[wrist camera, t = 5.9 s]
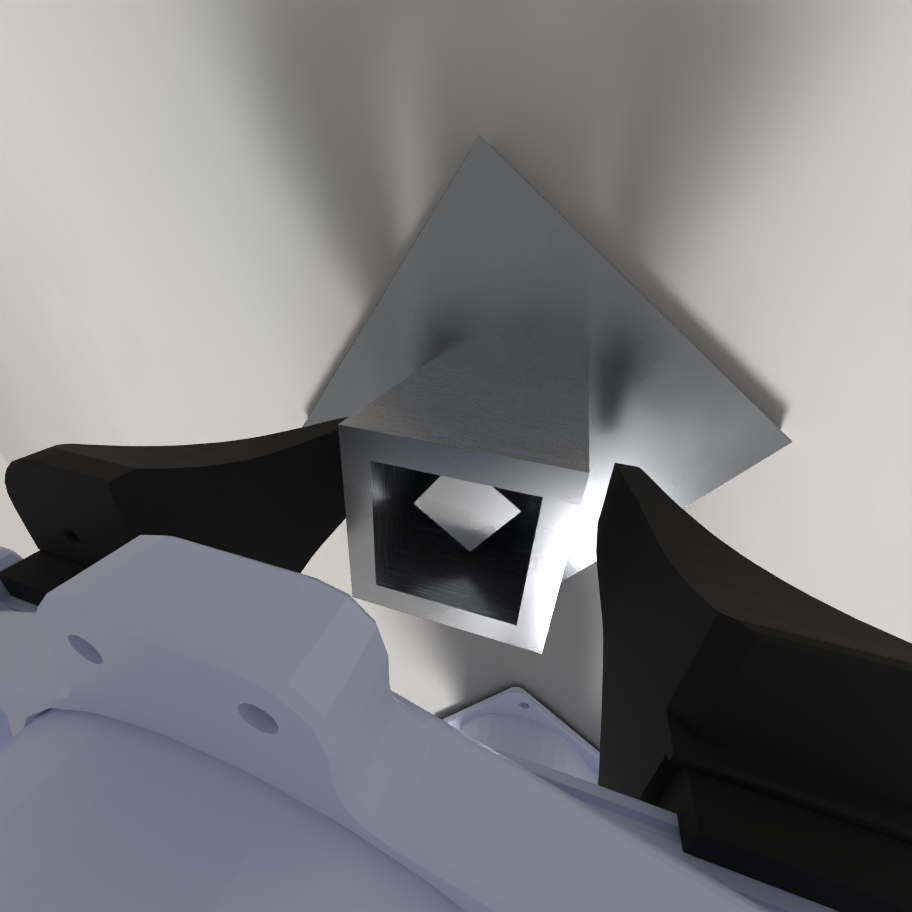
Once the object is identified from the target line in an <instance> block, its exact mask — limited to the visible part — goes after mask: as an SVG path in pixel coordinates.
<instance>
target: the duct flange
mask: <svg viewBox="0 0 912 912" xmlns="http://www.w3.org/2000/svg"><path fill="white" fill-rule="evenodd" d="M435 358H436V359H443V360H450V361H457V362H464V363H471V364H478V365H485V366H492V367H499V368H506V369H513V370H520V371H526V372H533V373H540V374H547V375H554V376H561V377H568V378H575V379H582V380H589V477H588V481H587V484H586V488H585V492H584V496H583V500H582V503H581V507H580V511H579V515H578V519H577V522H576V526H575V530H574V534H573V538H572V541H571V545H570V549H569V553H568V557H567V560H566V564H565V568H564V572H563V576H562V579H561V582H563V581H564V580H566V579H568V578H569V577H571V576H572V575H574V574H576V573H577V572H579V571H581V570H582V569H584V568H586V567H587V566H589V565H591V564H592V563H594V562H595V561H597V558H596V541H597V524H598V519H599V516H600V513H601V509H602V506H603V502H604V499H605V495H606V492H607V488H608V485H609V481H610V478H611V474H612V471H613V467H614V464H615V463H620V464H626V465H631V466H637V467H640V468H641V469H642V470H643V471H644V472H645V473H646V474H647V475H648V476H649V477H650V478H651V479H652V480H653V481H654V482H655V483H656V484H657V485H658V486H659V487H660V488H661V489H662V490H663V491H664V492H665V493H666V494H667V495H668V496H669V497H670V498H672V499H673V500H674V501H675V502H676V503H677V504H678V505H679V506H680V507H681V508H682V509H683V508H684V507H686V506H688V505H689V504H691V503H693V502H694V501H696V500H698V499H699V498H701V497H702V496H704V495H706V494H707V493H709V492H711V491H712V490H714V489H716V488H717V487H719V486H721V485H722V484H724V483H725V482H727V481H729V480H730V479H732V478H734V477H735V476H737V475H739V474H740V473H742V472H744V471H745V470H747V469H749V468H750V467H752V466H753V465H755V464H757V463H758V462H760V461H762V460H763V459H765V458H767V457H768V456H770V455H772V454H773V453H775V452H776V451H778V450H780V449H781V448H783V447H785V446H786V445H788V444H790V443H791V442H792V441H791V440H790V439H789V438H788V437H787V436H786V435H785V434H784V433H783V432H782V431H781V430H780V429H779V428H778V427H777V426H776V425H775V424H774V423H773V422H772V421H771V420H770V419H769V418H768V417H767V416H766V415H765V414H764V413H763V412H762V411H761V410H760V409H759V408H758V407H757V406H756V405H755V404H754V403H753V402H752V401H750V400H749V399H748V398H747V397H746V396H745V395H744V394H743V393H742V392H741V391H740V390H739V389H738V388H737V387H736V386H735V385H734V384H733V383H732V382H731V381H730V380H729V379H728V378H727V377H726V376H725V375H724V374H723V373H722V372H721V371H720V370H719V369H718V368H717V367H716V366H715V365H714V364H713V363H712V362H711V361H710V360H709V359H708V358H707V357H706V356H705V355H703V354H702V353H701V352H700V351H699V350H698V349H697V348H696V347H695V346H694V345H693V344H692V343H691V342H690V341H689V340H688V339H687V338H686V337H685V336H684V335H683V334H682V333H681V332H680V331H679V330H678V329H677V328H676V327H675V326H674V325H673V324H672V323H671V322H670V321H669V320H668V319H667V318H666V317H665V316H664V315H663V314H662V313H661V312H660V311H659V310H658V309H656V308H655V307H654V306H653V305H652V304H651V303H650V302H649V301H648V300H647V299H646V298H645V297H644V296H643V295H642V294H641V293H640V292H639V291H638V290H637V289H636V288H635V287H634V286H633V285H632V284H631V283H630V282H629V281H628V280H627V279H626V278H625V277H624V276H623V275H622V274H621V273H620V272H619V271H618V270H617V269H616V268H615V267H614V266H613V265H612V264H611V263H609V262H608V261H607V260H606V259H605V258H604V257H603V256H602V255H601V254H600V253H599V252H598V251H597V250H596V249H595V248H594V247H593V246H592V245H591V244H590V243H589V242H588V241H587V240H586V239H585V238H584V237H583V236H582V235H581V234H580V233H579V232H578V231H577V230H576V229H575V228H574V227H573V226H572V225H571V224H570V223H569V222H568V221H567V220H566V219H565V218H564V217H563V216H561V215H560V214H559V213H558V212H557V211H556V210H555V209H554V208H553V207H552V206H551V205H550V204H549V203H548V202H547V201H546V200H545V199H544V198H543V197H542V196H541V195H540V194H539V193H538V192H537V191H536V190H535V189H534V188H533V187H532V186H531V185H530V184H529V183H528V182H527V181H526V180H525V179H524V178H523V177H522V176H521V175H520V174H519V173H518V172H517V171H516V170H514V169H513V168H512V167H511V166H510V165H509V164H508V163H507V162H506V161H505V160H504V159H503V158H502V157H501V156H500V155H499V154H498V153H497V152H496V151H495V150H494V149H493V148H492V147H491V146H490V145H489V144H488V143H487V142H486V141H485V140H484V139H483V138H482V137H481V136H479V137H478V139H477V141H476V142H475V144H474V146H473V147H472V149H471V151H470V152H469V154H468V155H467V157H466V159H465V160H464V162H463V164H462V165H461V167H460V169H459V170H458V172H457V174H456V175H455V177H454V179H453V180H452V182H451V183H450V185H449V187H448V188H447V190H446V192H445V193H444V195H443V197H442V198H441V200H440V202H439V203H438V205H437V206H436V208H435V210H434V211H433V213H432V215H431V216H430V218H429V220H428V221H427V223H426V225H425V226H424V228H423V230H422V231H421V233H420V234H419V236H418V238H417V239H416V241H415V243H414V244H413V246H412V248H411V249H410V251H409V253H408V254H407V256H406V257H405V259H404V261H403V262H402V264H401V266H400V267H399V269H398V271H397V272H396V274H395V276H394V277H393V279H392V281H391V282H390V284H389V285H388V287H387V289H386V290H385V292H384V294H383V295H382V297H381V299H380V300H379V302H378V304H377V305H376V307H375V308H374V310H373V312H372V313H371V315H370V317H369V318H368V320H367V322H366V323H365V325H364V327H363V328H362V330H361V331H360V333H359V335H358V336H357V338H356V340H355V341H354V343H353V345H352V346H351V348H350V350H349V351H348V353H347V355H346V356H345V358H344V359H343V361H342V363H341V364H340V366H339V368H338V369H337V371H336V373H335V374H334V376H333V378H332V379H331V381H330V382H329V384H328V386H327V387H326V389H325V391H324V392H323V394H322V396H321V397H320V399H319V401H318V402H317V404H316V406H315V407H314V409H313V410H312V412H311V414H310V415H309V417H308V419H307V420H306V422H305V424H304V425H303V427H306V426H310V425H314V424H318V423H322V422H326V421H330V420H335V419H339V418H344V417H350V416H351V415H353V414H354V413H356V412H357V411H358V410H360V409H361V408H363V407H364V406H366V405H367V404H369V403H370V402H372V401H373V400H375V399H376V398H378V397H379V396H381V395H382V394H383V393H385V392H386V391H388V390H389V389H391V388H392V387H394V386H395V385H397V384H398V383H400V382H401V381H403V380H404V379H406V378H407V377H409V376H410V375H411V374H413V373H414V372H416V371H417V370H419V369H420V368H422V367H423V366H425V365H426V364H428V363H429V362H431V361H432V360H434V359H435ZM524 498H525V493H520V492H516V491H511V490H506V489H501V488H497V487H492V486H487V485H483V484H478V483H473V482H469V481H464V480H459V479H454V478H450V477H445V476H440V475H436V474H434V475H433V476H432V478H431V479H430V481H429V482H428V484H427V485H426V486H425V488H424V489H423V491H422V492H421V494H420V495H419V496H418V498H417V499H416V501H415V502H414V504H415V505H416V506H417V507H418V508H419V509H421V510H422V511H423V512H424V513H425V514H427V515H428V516H429V517H430V518H431V519H432V520H434V521H435V522H436V523H437V524H438V525H439V526H441V527H442V528H443V529H444V530H445V531H446V532H448V533H449V534H450V535H451V536H452V537H453V538H455V539H456V540H457V541H458V542H459V543H460V544H462V545H463V546H464V547H465V548H466V549H468V550H469V551H472V550H473V549H474V548H475V547H477V546H478V545H479V544H480V543H482V542H483V541H484V540H486V539H487V538H488V537H489V536H491V535H492V534H493V533H494V532H496V531H497V530H498V529H499V528H501V527H502V526H503V525H504V524H506V523H507V522H508V521H510V520H511V519H512V518H513V517H515V516H516V515H517V514H518V513H520V512H521V510H522V506H523V502H524Z"/></svg>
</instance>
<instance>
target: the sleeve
mask: <svg viewBox="0 0 912 912" xmlns="http://www.w3.org/2000/svg"><path fill="white" fill-rule="evenodd" d="M338 428H339V440H340V452H341V463H342V475H343V487H344V499H345V511H346V523H347V535H348V547H349V559H350V570H351V582H352V594H353V597H355V598H358V599H361V600H365V601H368V602H371V603H375V604H378V605H381V606H384V607H388V608H391V609H394V610H398V611H401V612H404V613H408V614H411V615H414V616H418V617H421V618H424V619H428V620H431V621H434V622H437V623H441V624H444V625H447V626H451V627H454V628H457V629H461V630H464V631H467V632H471V633H474V634H477V635H481V636H484V637H487V638H490V639H494V640H497V641H500V642H504V643H507V644H510V645H514V646H517V647H520V648H524V649H527V650H530V651H534V652H537V653H540V654H542V652H543V648H544V644H545V640H546V637H547V633H548V629H549V625H550V621H551V617H552V614H553V610H554V606H555V602H556V598H557V595H558V591H559V587H560V583H561V579H562V576H563V572H564V568H565V564H566V560H567V557H568V553H569V549H570V545H571V541H572V538H573V534H574V530H575V526H576V522H577V519H578V515H579V511H580V507H581V503H582V500H583V496H584V492H585V488H586V484H587V481H588V477H589V380H582V379H575V378H568V377H561V376H554V375H547V374H540V373H533V372H526V371H520V370H513V369H506V368H499V367H492V366H485V365H478V364H471V363H464V362H457V361H450V360H443V359H436V358H435V359H434V360H432V361H431V362H429V363H428V364H426V365H425V366H423V367H422V368H420V369H419V370H417V371H416V372H414V373H413V374H411V375H410V376H409V377H407V378H406V379H404V380H403V381H401V382H400V383H398V384H397V385H395V386H394V387H392V388H391V389H389V390H388V391H386V392H385V393H383V394H382V395H381V396H379V397H378V398H376V399H375V400H373V401H372V402H370V403H369V404H367V405H366V406H364V407H363V408H361V409H360V410H358V411H357V412H356V413H354V414H353V415H351V416H350V417H348V418H347V419H345V420H344V421H342V422H341V423H339V424H338ZM434 474H436V475H440V476H445V477H450V478H454V479H459V480H464V481H469V482H473V483H478V484H483V485H487V486H492V487H497V488H501V489H506V490H511V491H516V492H520V493H525V498H524V502H523V506H522V510H521V512H520V513H518V514H517V515H516V516H515V517H513V518H512V519H511V520H510V521H508V522H507V523H506V524H504V525H503V526H502V527H501V528H499V529H498V530H497V531H496V532H494V533H493V534H492V535H491V536H489V537H488V538H487V539H486V540H484V541H483V542H482V543H480V544H479V545H478V546H477V547H475V548H474V549H473V550H472V551H469V550H468V549H466V548H465V547H464V546H463V545H462V544H460V543H459V542H458V541H457V540H456V539H455V538H453V537H452V536H451V535H450V534H449V533H448V532H446V531H445V530H444V529H443V528H442V527H441V526H439V525H438V524H437V523H436V522H435V521H434V520H432V519H431V518H430V517H429V516H428V515H427V514H425V513H424V512H423V511H422V510H421V509H419V508H418V507H417V506H416V505H415V504H414V502H415V501H416V499H417V498H418V496H419V495H420V494H421V492H422V491H423V489H424V488H425V486H426V485H427V484H428V482H429V481H430V479H431V478H432V476H433V475H434Z"/></svg>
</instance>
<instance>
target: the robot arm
mask: <svg viewBox="0 0 912 912" xmlns="http://www.w3.org/2000/svg"><path fill="white" fill-rule="evenodd" d="M347 418H348V417H344V418H339V419H335V420H330V421H326V422H322V423H318V424H314V425H310V426H306V427H302V428H298V429H293V430H289V431H284V432H280V433H275V434H271V435H266V436H261V437H255V438H249V439H242V440H235V441H228V442H218V443H206V444H194V445H180V446H108V445H84V444H62V445H56V446H53V447H50V448H47V449H44V450H42V451H39V452H36V453H34V454H31V455H28V456H26V457H23V458H20V459H17V460H15V461H12V462H11V463H10V465H9V466H8V468H7V470H6V474H5V484H6V488H7V492H8V494H9V497H10V499H11V501H12V503H13V505H14V507H15V509H16V510H17V512H18V514H19V516H20V517H21V519H22V521H23V523H24V524H25V526H26V528H27V530H28V531H29V533H30V535H31V537H32V538H33V540H34V542H35V544H36V545H37V547H38V549H40V551H38V552H36V553H34V554H32V555H30V556H29V557H27V558H25V559H22V558H21V557H20V556H19V555H18V554H17V553H15V552H14V551H12V550H10V549H7V548H4V547H1V546H0V912H912V644H911V643H909V642H907V641H904V640H902V639H900V638H898V637H896V636H893V635H891V634H889V633H887V632H884V631H882V630H880V629H878V628H875V627H873V626H871V625H869V624H866V623H864V622H862V621H860V620H857V619H855V618H853V617H851V616H849V615H847V614H845V613H843V612H841V611H839V610H837V609H835V608H833V607H831V606H829V605H827V604H825V603H824V602H822V601H820V600H818V599H816V598H814V597H812V596H810V595H808V594H806V593H804V592H803V591H801V590H799V589H797V588H795V587H793V586H792V585H790V584H788V583H786V582H784V581H783V580H781V579H779V578H778V577H776V576H774V575H773V574H771V573H769V572H768V571H766V570H765V569H763V568H761V567H760V566H758V565H756V564H755V563H753V562H752V561H750V560H748V559H747V558H745V557H744V556H742V555H741V554H739V553H738V552H737V551H735V550H734V549H732V548H731V547H730V546H728V545H727V544H725V543H724V542H723V541H721V540H720V539H718V538H717V537H716V536H714V535H713V534H712V533H710V532H709V531H708V530H707V529H705V528H704V527H703V526H702V525H701V524H699V523H698V522H697V521H696V520H695V519H694V518H692V517H691V516H690V515H689V514H688V513H687V512H685V511H684V510H683V509H682V508H681V507H680V506H679V505H678V504H677V503H676V502H675V501H674V500H673V499H672V498H670V497H669V496H668V495H667V494H666V493H665V492H664V491H663V490H662V489H661V488H660V487H659V486H658V485H657V484H656V483H655V482H654V481H653V480H652V479H651V478H650V477H649V476H648V475H647V474H646V473H645V472H644V471H643V470H642V469H641V468H640V467H637V466H631V465H626V464H620V463H615V464H614V467H613V471H612V474H611V478H610V481H609V485H608V488H607V492H606V495H605V499H604V502H603V506H602V509H601V513H600V516H599V519H598V524H597V541H596V558H597V569H598V580H599V590H600V600H601V610H602V620H603V686H602V717H601V738H600V752H599V751H598V750H596V749H595V748H594V747H593V746H591V745H590V744H589V743H588V742H587V741H585V740H584V739H583V738H582V737H581V736H579V735H578V734H577V733H576V732H575V731H573V730H572V729H571V728H570V727H568V726H567V725H566V724H565V723H564V722H562V721H561V720H560V719H559V718H558V717H556V716H555V715H554V714H553V713H552V712H550V711H549V710H548V709H547V708H545V707H544V706H543V705H542V704H541V703H539V702H538V701H537V700H536V699H535V698H533V697H532V696H531V695H530V694H529V693H527V692H526V691H525V690H524V689H522V688H520V687H511V688H509V689H507V690H505V691H503V692H500V693H498V694H496V695H494V696H492V697H490V698H487V699H485V700H483V701H481V702H479V703H477V704H474V705H472V706H470V707H468V708H466V709H464V710H461V711H459V712H457V713H455V714H453V715H451V716H448V717H446V718H444V719H442V720H441V719H440V718H438V717H436V716H434V715H433V714H431V713H429V712H428V711H426V710H424V709H422V708H421V707H419V706H417V705H416V704H414V703H412V702H410V701H409V700H407V699H405V698H404V697H402V696H400V695H398V694H397V693H395V692H393V691H391V690H390V685H389V663H388V654H387V651H386V649H385V646H384V643H383V641H382V638H381V635H380V632H379V630H378V627H377V625H376V622H375V620H374V619H373V618H372V617H371V616H370V615H369V614H368V613H367V612H366V611H365V610H364V609H363V608H362V607H361V606H360V605H359V604H358V603H357V602H356V601H355V600H354V599H353V598H352V597H351V596H350V595H349V594H347V593H345V592H343V591H341V590H339V589H337V588H335V587H333V586H331V585H329V584H327V583H325V582H323V581H321V580H319V579H317V578H314V577H311V576H307V575H304V574H300V573H301V572H302V570H303V569H304V567H305V566H306V564H307V563H308V562H309V560H310V559H311V557H312V556H313V555H314V554H315V552H316V551H317V550H318V549H319V547H320V546H321V545H322V544H323V543H324V542H325V541H326V539H327V538H328V537H329V536H330V535H331V534H332V533H333V532H334V530H335V529H336V528H337V527H338V526H339V525H340V524H341V523H342V522H343V520H344V519H345V518H346V511H345V499H344V487H343V475H342V463H341V452H340V440H339V428H338V424H339V423H341V422H342V421H344V420H345V419H347Z"/></svg>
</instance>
